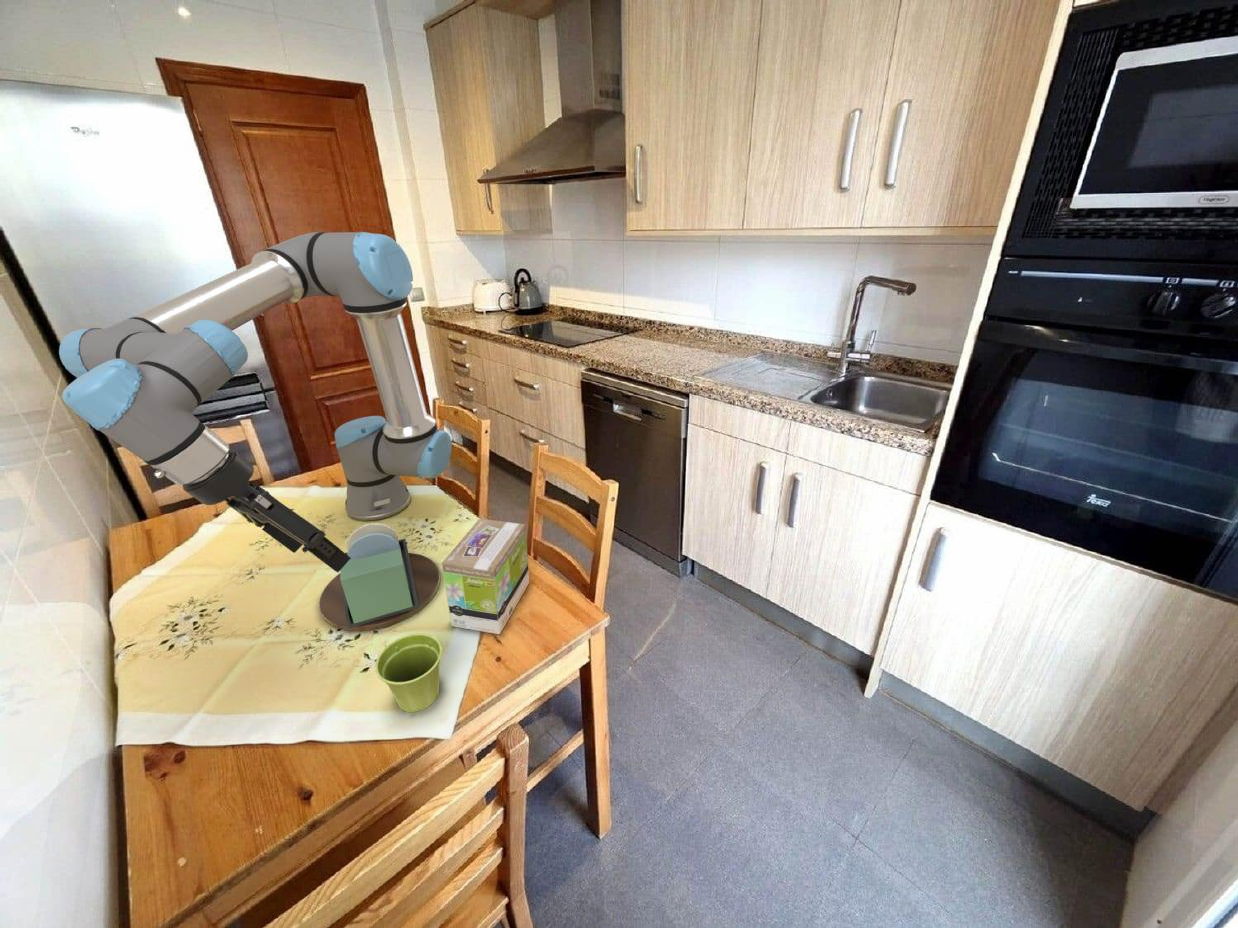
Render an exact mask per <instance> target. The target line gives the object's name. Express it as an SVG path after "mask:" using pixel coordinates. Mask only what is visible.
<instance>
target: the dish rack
mask: <svg viewBox="0 0 1238 928" xmlns="http://www.w3.org/2000/svg"><path fill="white" fill-rule="evenodd" d="M346 550H347V552H344V553H345V554H347V555H348V556H349V557H350V558H351V559H350V560H349V561H348V562H347V563H346V564H345V565H344V567H343V568H342V569H341V570H340V571H339V574H340V581H341V584H342V587H343V590H344V601H345V618H346V621H347V624H348V627H349V629H350V628H353V627H356V626H360V625H363V624H367V623H370V622H373V621H377V620H380V619H384V618H387V617H390V616H394V615H397V614H401V613H404V612H407V611H411V610H414V609H418V608H419V604H418V599H417V594H416V589H415V583H414V578H413V573H412V568H411V563H410V558H409V553H410V552H409V549H408V544H407V540H406V538H402V539H400V538H399V534H398V533H397V531H396V530H395V529H394V528H393V527H391V526H390V525H388V524H385V523H380V522H371V523H367V524H363V525H361V526H359V527H357V528H356V529H354V530H353V531H352V532H351V534H350V535H349V536H348V539H347V542H346Z"/></svg>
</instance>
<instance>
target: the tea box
mask: <svg viewBox="0 0 1238 928" xmlns="http://www.w3.org/2000/svg"><path fill="white" fill-rule="evenodd" d="M441 567H442V575H443V580H444V586H445V587H444V588H445V594H446V599H447V604H448V611H449V618H450V623H451V627H455V628H460V629H467V630H471V631H478V632H483V633H489V634H493V635H494V634H495V635H501V633H502V631H503V629H504V628H505V626H506V625H507V623H508V621H509V619H510V617H511V616H512V614H513V612H514V610H515V608H516V606H517V605H518V603H519V602H520V600H521V598H522V596H523V594H524V593H525V591H526V589H527V587H528V586H529V584H530V571H529V557H528V542H527V529H526V524H525V523H517V522H510V521H503V520H494V519H489V518H488V519H487V518H480V517H479V518H478V519H477V521H476V522H475V523H474V524H473V525H472V527H471V528H470V529H469V530H468V531H467V533H466V534H465V535H464V536H463V537H462V538H461V540H460V541H459V542H458V543H457V545H456V546H455V547H454V548H453V549H452V551H451V552H450V553H449V554H448V555H447V556H446V558H445V559H443V561H442V563H441Z"/></svg>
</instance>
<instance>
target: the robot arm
mask: <svg viewBox="0 0 1238 928" xmlns="http://www.w3.org/2000/svg"><path fill="white" fill-rule="evenodd" d="M413 281H414V275H413V268H412V266H411V262H410V260H409V257H408V256H407V253H406V252H405V250H404V249H403V248H402V245H400V243H398V242H396V241H395V239H393V238H392V237H391V236H388V235H386V234H382V233H372V232H368V231H355V232H354V231H353V232H352V231H349V232H348V231H347V232H344V231H343V232H341V231H340V232H339V231H338V232H325V231H314V232H309V233H308V232H307V233H304V234H301V235H297V236H295V237H291V238H289V239H286V240H284V241H281V242H279V243H276V244H274V245H272V246H270V247H267V248H265V249H263V250H260V251H258V252H257V253H255V254H254V255H253V256H252V259H251V263H248V264H246V265H244V266H242V267H240V268H238V269H235V270H233V271H231V272H229V273H227V274H224V275H222V276H220V277H218V278H215V279H213V280H210V281H209V282H207V283H204V284H202V285H200V286H197V287H196V288H193V289H191V290H189V291H186V292H185V293H182V294H180V295H178V296H176V297H174V298H172V299H169V300H167V301H165V302H163V303H161V304H158V305H156V306H154V307H151V308H150V309H148V310H145V311H143V312H141V313H139V314H136V315H134V316H132V317H129V318H126V319H125V320H122V321H119V322H117V323H114V324H112V325H110V326H108V327H105V328H101V327H89V328H82V329H76V330H73V331H71V332H69V333H68V334H66V335H65V337H64V338H63V339H62V340H61V341H60V345H59V349H58V355H59V359H60V362H61V363H62V365H63V366H64V368H65V370H66V371H68V372H69V373H70V374H71V375H73V376H74V377H75V379H74V380H73V381H71V383H69V384H68V385H67V386H66V387H65V388H64V389H63V391H62V394H61V398H62V401H63V402H64V404H65V405H66V406H67V407H69V408H70V409H71V410H72V411H73V412H74V413H75V414H76V415H77V416H79V417H80V418H81V419H82V420H83V421H86V423H88V424H89V425H90V426H91V427H92V428H93V429H95V430H96V431H99V432H101V433H102V434H104V435H105V436H106V437H108V438H110V440H112V441H114V442H115V443H117V444H118V445H120V446H121V447H122V448H124V449H126V450H127V451H129V452H130V453H132V454H133V455H134V456H135V457H137V458H138V459H141V461H143V462H144V463H146V464H147V465H149V466H150V467H152V468H153V469H156V470H155V472H154V473H153V476H154V477H156V478H157V479H162V478H164V477H165V478H167V479H168V480H170V481H172V482H173V484H176V485H177V486H182V489H183V491H184V492H186V493H187V494H189V495H190V496H191V497H193V498H194V499H196V500H197V501H198V502H200V503H201V504H202V505H205V506H215V505H218V504H221V503H223V502H225V503H226V505H227V506H228V507H230V508H231V509H233V510H234V511H236V512H237V513H238V514H239V515H240V516H242V517H243V518H244V519H245V520H246V522H248V523H249V524H250V523H251V524H254V525H255V526H256V527H257V528H261V530H262V531H263V532H264V533H266V534H267V535H269V536H270V537H271V538H273V539H274V540H276V542H278V543H279V544H281V545H282V546H283V547H285V548H287V550H289V551H290V552H292V553H294V554H295V553H296V552H297V551H298V550H299V549H300V548H301V547H302V546H303V547H302V548H301V552H303V553H305V554H306V553H307V552H309V553H310V554H312V555H313V556H315V558H317V559H318V560H320V561H321V562H323V564H325V565H326V566H328V567H329V568H330V569H331V570H333V571H334V572H336V573H340V570H341V569H342V568H343V567H344V565H345V564H346V563H347V562H348V561H349V560H350V559H351V558H350V557H349V556H348V555H347V554H345V553H346V552H345V551H343V550H342V549H341V548H339V547H338V546H337V545H336V544H335V543H333V542H332V541H331V540H329V539H328V538H327V537H326V535H327V534H326V533H325V531H324V530H322V529H319V528H318V527H316V526H315V525H314V524H312V523H311V522H310V521H308V520H306V519H305V518H304V517H302V516H300V515H299V514H298V513H296V512H295V511H294V510H292V509H290V508H289V507H288V506H287V505H285V504H284V503H282V502H281V501H280V500H278V499H277V498H275V496H273V495H271V494H270V492H269V491H268V490H266V489H264V488H263V487H262V486H259V485H258V484H257V485H256V486H255V485H254V484H253V483H251V482H250V480H251V478H252V477H253V475H254V472H255V467H254V466H253V464H252V463H251V462H250V461H249V460H247V459H246V458H245V457H243V456H242V455H241V454H240V453H239V452H238V451H236V450H235V449H230V445H229V444H228V443H227V441H225V440H224V439H223V438H222V437H220V435H218V434H217V433H215V431H213V430H212V429H211V428H209V427H208V426H207V425H206V424H204V423H202V421H200V419H198V418H197V417H196V416H195V415H194V414H193V413H192V412H194V411H195V410H196V409H197V408H199V407H200V406H201V404H203V402H205V401H206V400H207V399H208V398H210V397H211V396H212V395H213V394H214V393H216V392H217V391H218V390H219V389H220V388H222V387H223V386H224V385H225V384H226V383H227V382H228V381H230V380H231V379H233V378H234V377H235V376H236V374H237V372H239V370H241V368H242V367H243V366H244V365H245V364H246V363H247V361H248V358H249V353H248V349H247V347H246V345H245V343H244V342H243V341H242V340H241V337H239V336H238V334H236V332H234V331H235V330H236V329H238V328H240V327H241V326H244V325H245V324H247V323H248V322H251V321H252V320H254V319H256V318H257V317H260V316H261V315H263V314H265V313H267V312H268V311H270V310H272V309H274V308H276V307H277V306H279V305H281V304H282V303H283V304H290V305H291V304H295V303H298V302H299V301H301V300H303V299H306V298H311V297H338V298H339V297H340V299H341V303H342V307H343V310H344V311H345V313H347V314H348V315H350V316H352V317H353V318H355V320H356V323H357V326H358V330H359V334H360V336H361V339H362V343H363V346H364V349H365V353H366V355H367V359H368V363H369V366H370V369H371V373H372V375H373V379H374V381H375V385H376V389H377V392H378V395H379V398H380V402H381V405H382V409H383V412H384V415H385V417H384V416H381V415H370V416H363V417H359V418H355V419H352V420H349V421H347V422H344V423H343V424H341V425H340V426H338V427H336V428H337V429H336V430H335V431H334V439H335V447H336V450H337V454H338V457H339V461H340V464H341V467H342V471H343V474H344V477H345V480H346V484H347V486H346V499H345V502H344V507H345V512H346V514H347V516H348V517H349V519H353V520H356V521H362V522H374V521H380V520H384V519H388V518H391V517H393V516H396V515H398V514H400V513H402V512H404V510H406V509H407V508H408V507H409V505H410V503H411V501H412V497H411V493H410V491H409V489H408V487H407V486H406V485H405V482H404V481H403V479H402V477H410V478H417V479H420V480H421V479H435V478H438V477H440V476H441V475H442V474H443V473H444V471H445V470H446V469H447V467H448V465H449V462H450V459H451V456H452V455H451V454H452V449H453V448H452V447H453V445H452V438H451V435H450V434H449V433H448V432H447V431H446V430H444V429H440V430H439V429H438V425H437V421H436V418H435V417H434V416H433V415H431V414H429V413H428V412H427V410H426V405H425V401H424V397H423V393H422V390H421V386H420V381H419V377H418V374H417V373H418V372H417V369H416V365H415V361H414V357H413V354H412V351H411V346H410V341H409V338H408V334H407V329H406V326H405V322H404V318H403V314H402V311H403V310H404V308H405V307H406V306H407V304H408V303H407V298H408V297H409V295H410V294H411V293H412V290H413V283H412V282H413Z"/></svg>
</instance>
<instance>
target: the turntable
mask: <svg viewBox="0 0 1238 928" xmlns="http://www.w3.org/2000/svg"><path fill="white" fill-rule="evenodd" d="M408 553H409V558H410V563H411V568H412V573H413V578H414V583H415V589H416V594H417V599H418V604H419V608H418V609H414V610H411V611H407V612H404V613H401V614H397V615H394V616H390V617H387V618H384V619H380V620H377V621H373V622H370V623H367V624H363V625H360V626H356V627H353V628H350V629H349V627H348V624H347V621H346V618H345V601H344V590H343V587H342V584H341V581H340V573H338V574H337V575H336V576H334V578H332V579H331V580H330V581H329V583H328V584H327V585H326V586H325V588H324V589H323V591H322V592H321V594H320V598H319V602H318V603H319V610H320V613H321V616H322V618H323V619H324V620H325V621H326V622H327V623H328V624H329V625H330V626H331V627H333V628H336V629H338V630H342V631H346V632H370V631H376V630H380V629H384V628H389V627H390V626H393V625H396V624H399V623H402V622H404V621H405V620H407V619H409V618H411V617H412V616H414V615H416V614H418V613H419V612H420V611H421V610H422V609H424V608H425V607H426V606H427V605H428V604H429V603H431V601H432V600H433V599H434V597H435V595H436V594H437V592H438V590H439V588H440V584H441V575H440V570H439V568H438V566H437V564H436V563H435V562H434V561H433V560H432V559H430V558H429V557H426V556H425V555H421V554H418V553H413V552H408Z"/></svg>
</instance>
